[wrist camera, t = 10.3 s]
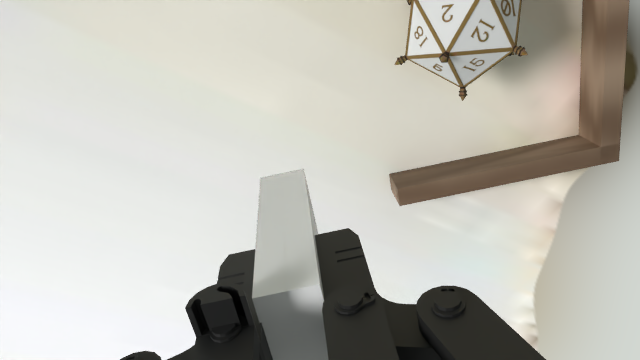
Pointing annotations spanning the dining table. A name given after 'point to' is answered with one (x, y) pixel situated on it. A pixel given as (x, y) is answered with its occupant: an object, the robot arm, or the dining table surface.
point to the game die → (462, 37)
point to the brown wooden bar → (557, 155)
